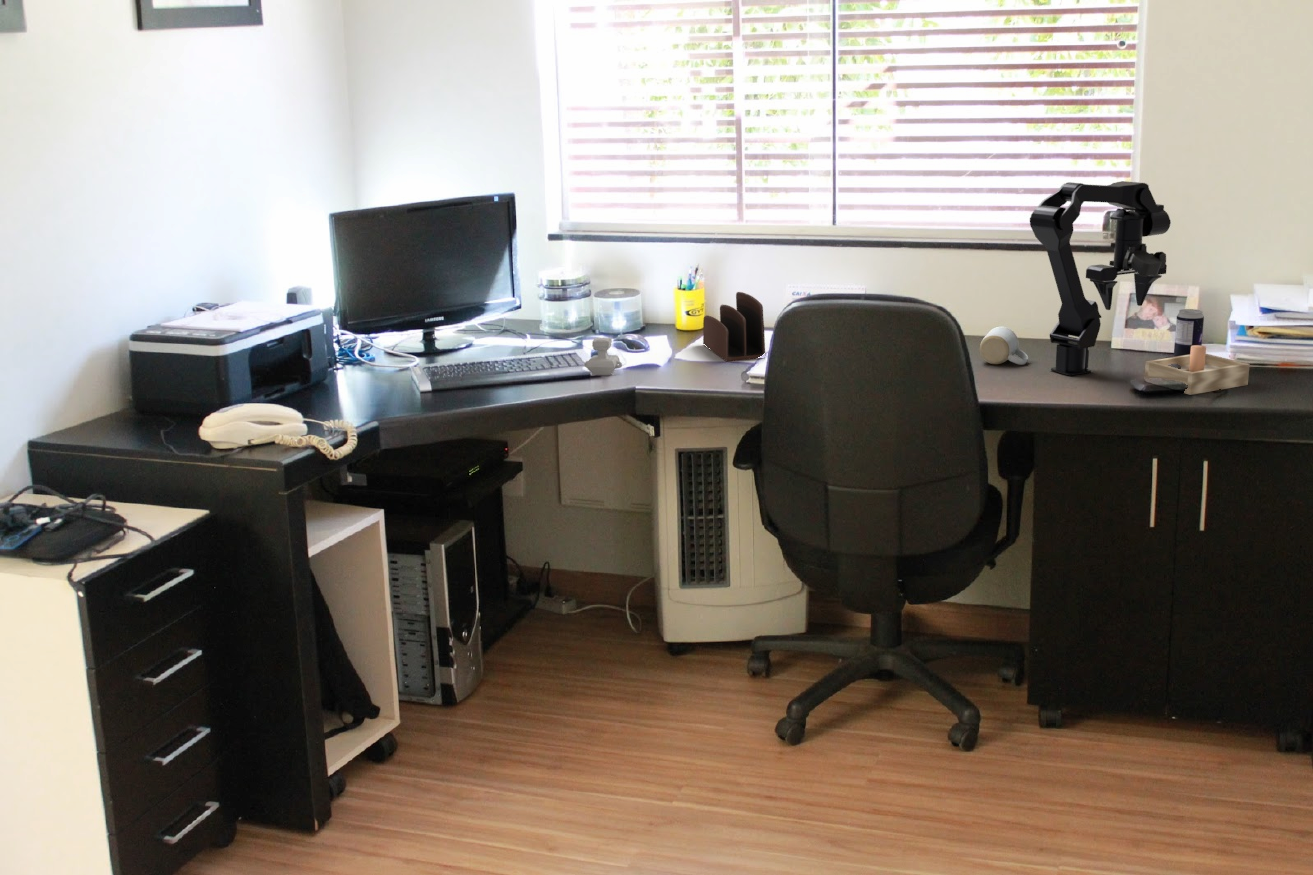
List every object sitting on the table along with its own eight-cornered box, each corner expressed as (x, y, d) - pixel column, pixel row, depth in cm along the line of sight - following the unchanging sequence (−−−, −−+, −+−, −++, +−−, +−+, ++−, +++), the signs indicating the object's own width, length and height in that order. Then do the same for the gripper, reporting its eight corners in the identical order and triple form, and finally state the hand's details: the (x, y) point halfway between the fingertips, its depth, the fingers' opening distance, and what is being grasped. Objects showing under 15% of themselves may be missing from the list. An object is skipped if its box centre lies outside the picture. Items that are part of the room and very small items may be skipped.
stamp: (625, 370, 310) (623, 335, 307) (619, 377, 303) (618, 341, 301) (587, 370, 311) (585, 335, 309) (581, 377, 305) (579, 341, 302)
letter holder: (740, 342, 336) (739, 287, 332) (765, 359, 317) (765, 301, 313) (702, 346, 333) (701, 290, 329) (726, 362, 315) (725, 304, 311)
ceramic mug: (977, 364, 304) (978, 331, 302) (985, 356, 311) (987, 324, 309) (1023, 368, 300) (1025, 335, 297) (1031, 360, 307) (1033, 328, 304)
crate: (1190, 394, 272) (1192, 373, 271) (1144, 381, 284) (1145, 361, 283) (1247, 384, 279) (1249, 364, 277) (1200, 372, 290) (1202, 352, 289)
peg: (1195, 385, 279) (1198, 348, 277) (1184, 382, 282) (1187, 346, 280) (1206, 383, 280) (1209, 347, 278) (1195, 381, 283) (1198, 344, 281)
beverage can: (1202, 366, 295) (1206, 313, 292) (1175, 365, 296) (1179, 313, 293) (1197, 360, 301) (1201, 308, 297) (1171, 360, 302) (1175, 308, 298)
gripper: (1122, 246, 284) (1117, 318, 288) (1187, 239, 291) (1182, 309, 295) (1086, 240, 293) (1082, 309, 298) (1150, 233, 301) (1145, 301, 305)
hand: (1123, 307), depth 299 cm, fingers open, 9 cm apart
